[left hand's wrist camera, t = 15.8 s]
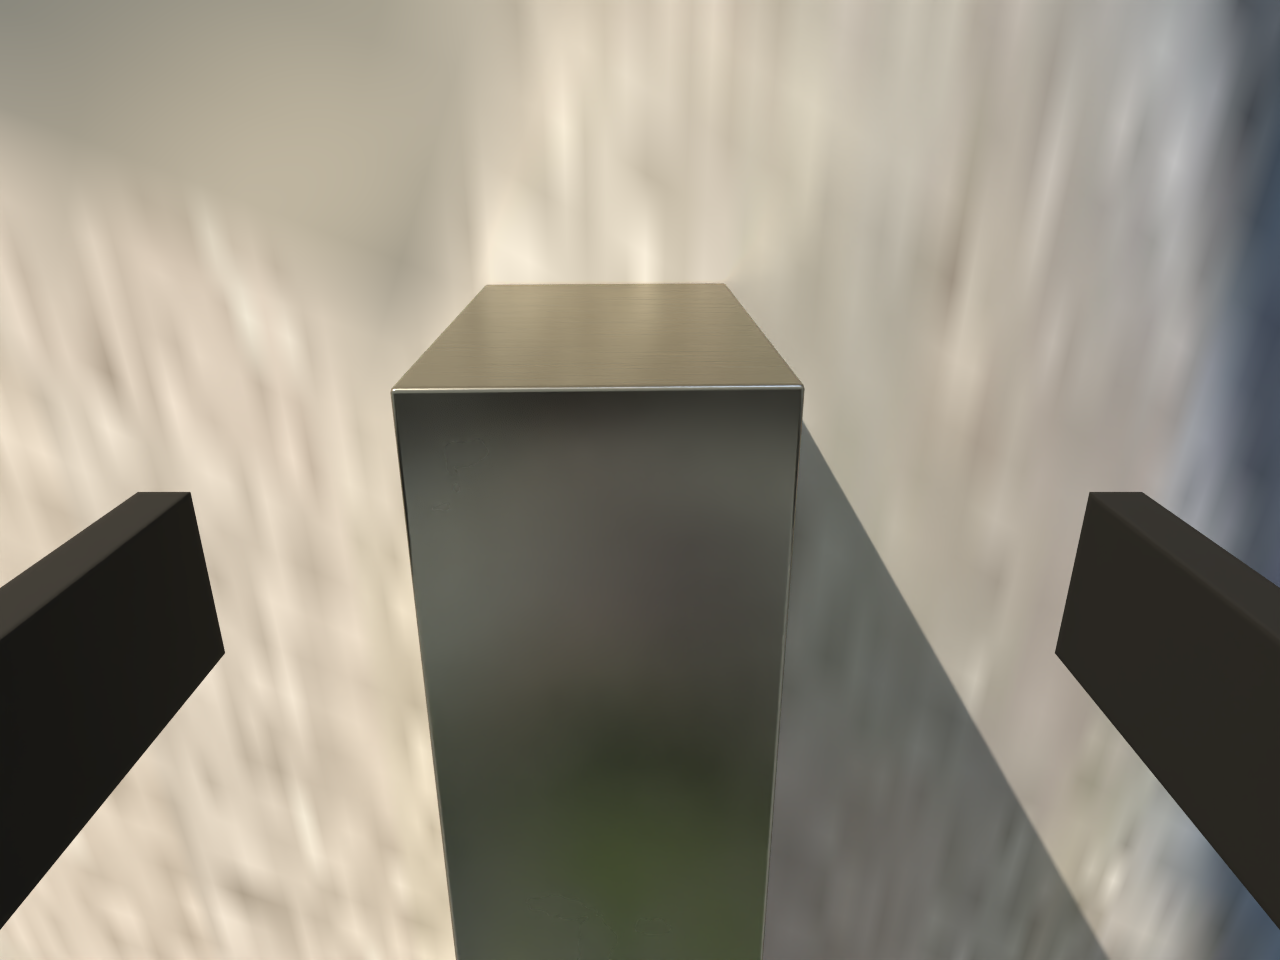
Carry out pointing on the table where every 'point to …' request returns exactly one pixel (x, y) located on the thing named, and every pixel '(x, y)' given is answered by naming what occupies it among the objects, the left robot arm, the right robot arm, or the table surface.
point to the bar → (602, 614)
